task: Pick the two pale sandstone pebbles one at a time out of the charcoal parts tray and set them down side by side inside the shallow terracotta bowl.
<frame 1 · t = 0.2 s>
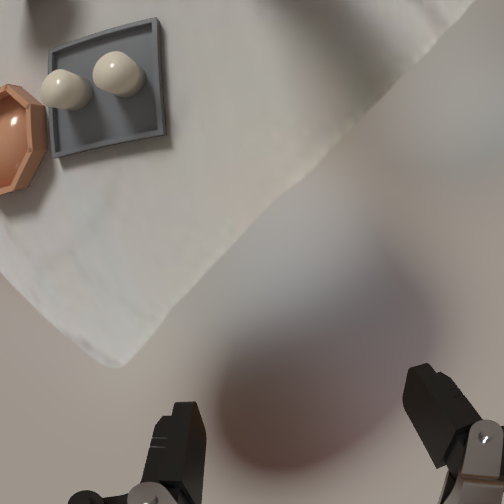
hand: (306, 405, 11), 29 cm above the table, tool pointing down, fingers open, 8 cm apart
terracotta bowl: (8, 141, 33), on the table
pebble 1: (77, 94, 31), point 1 cm above the table, touching parts tray
pebble 2: (128, 80, 32), point 1 cm above the table, touching parts tray
parts tray: (103, 87, 32), on the table
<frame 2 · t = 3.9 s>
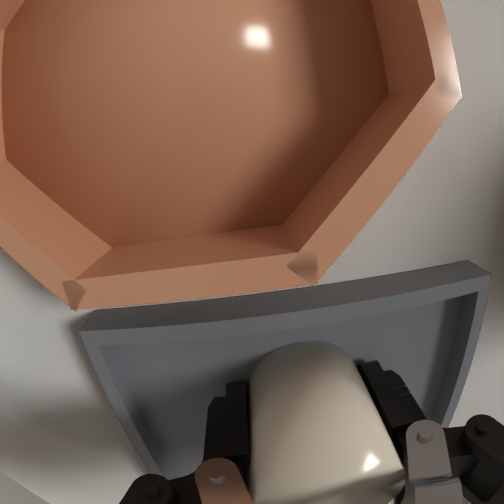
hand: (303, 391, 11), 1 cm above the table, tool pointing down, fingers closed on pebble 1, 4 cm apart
terracotta bowl: (171, 37, 8), on the table
pebble 1: (302, 386, 12), point 1 cm above the table, touching gripper, parts tray
parts tray: (302, 429, 13), on the table
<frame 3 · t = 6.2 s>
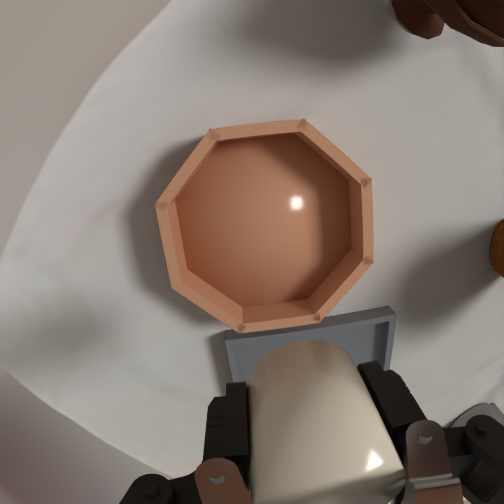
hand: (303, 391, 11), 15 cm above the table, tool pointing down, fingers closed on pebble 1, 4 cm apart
ice cream bowl: (417, 13, 19), on the table
terracotta bowl: (266, 222, 25), on the table
pebble 1: (302, 385, 12), point 15 cm above the table, touching gripper
parts tray: (312, 382, 30), on the table
when the fingers open (3 cm above the table, at t = 8.6 s): pebble 1 drops 2 cm, resting on terracotta bowl.
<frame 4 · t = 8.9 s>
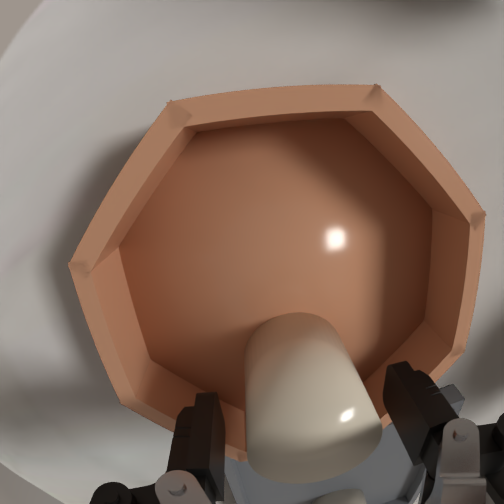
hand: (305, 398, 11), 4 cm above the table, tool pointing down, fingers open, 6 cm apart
terracotta bowl: (286, 283, 14), on the table
pebble 1: (293, 355, 14), point 1 cm above the table, touching terracotta bowl
pebble 2: (337, 501, 19), point 1 cm above the table, touching parts tray
parts tray: (339, 476, 19), on the table
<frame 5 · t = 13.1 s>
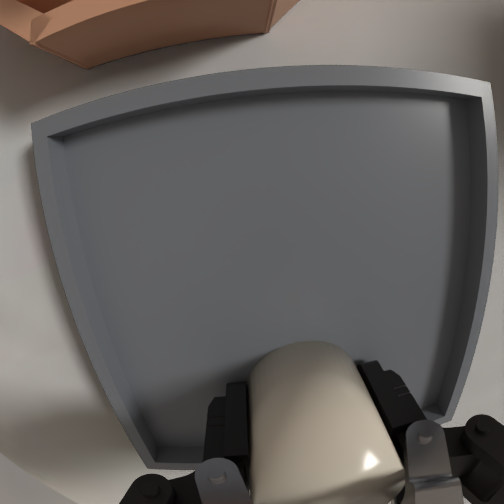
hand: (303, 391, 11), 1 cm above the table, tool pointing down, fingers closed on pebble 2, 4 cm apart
pebble 2: (302, 386, 12), point 1 cm above the table, touching gripper, parts tray
parts tray: (295, 301, 11), on the table
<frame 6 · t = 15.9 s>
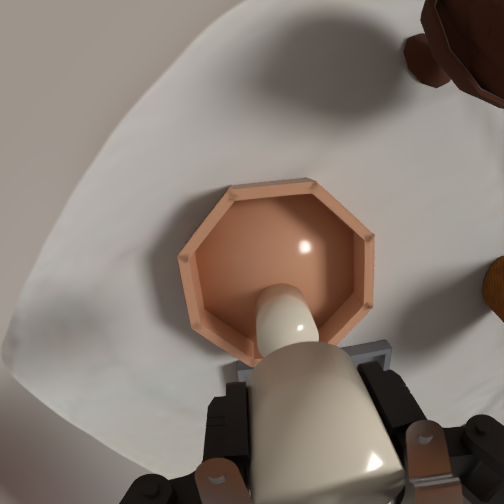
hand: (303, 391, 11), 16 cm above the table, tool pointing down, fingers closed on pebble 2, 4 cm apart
disposable coffee cup: (499, 280, 29), on the table
ice cream bowl: (428, 60, 22), on the table
terracotta bowl: (277, 268, 27), on the table
pebble 1: (280, 306, 27), point 1 cm above the table, touching terracotta bowl
pebble 2: (302, 386, 12), point 16 cm above the table, touching gripper
parts tray: (314, 405, 32), on the table
when the fingers open (3 cm above the table, at t = 18.8 s): pebble 2 drops 2 cm, resting on terracotta bowl.
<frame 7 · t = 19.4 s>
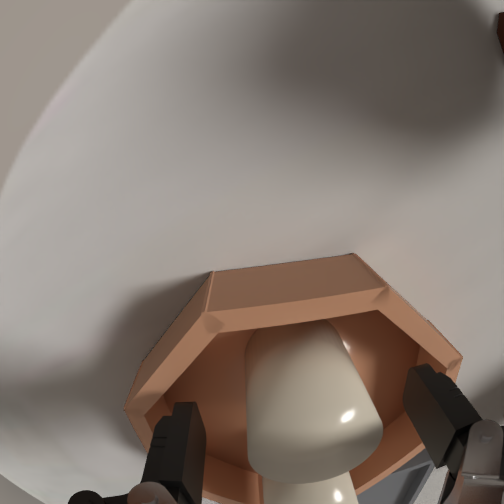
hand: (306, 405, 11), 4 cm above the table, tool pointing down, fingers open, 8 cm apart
terracotta bowl: (294, 393, 16), on the table
pebble 1: (298, 440, 16), point 1 cm above the table, touching terracotta bowl
pebble 2: (294, 355, 14), point 1 cm above the table, touching terracotta bowl
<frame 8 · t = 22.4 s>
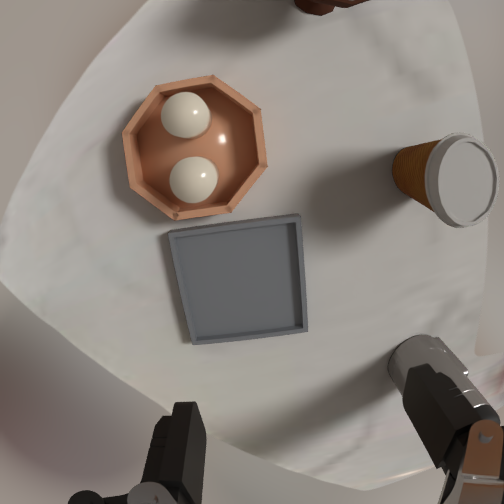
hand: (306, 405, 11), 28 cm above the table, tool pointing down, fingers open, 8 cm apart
disposable coffee cup: (412, 170, 36), on the table
terracotta bowl: (196, 147, 34), on the table
pebble 1: (199, 175, 35), point 1 cm above the table, touching terracotta bowl
pebble 2: (192, 119, 33), point 1 cm above the table, touching terracotta bowl
parts tray: (242, 281, 39), on the table
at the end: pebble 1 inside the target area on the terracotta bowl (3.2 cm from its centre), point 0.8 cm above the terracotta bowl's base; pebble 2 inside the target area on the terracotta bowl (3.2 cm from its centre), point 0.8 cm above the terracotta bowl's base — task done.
